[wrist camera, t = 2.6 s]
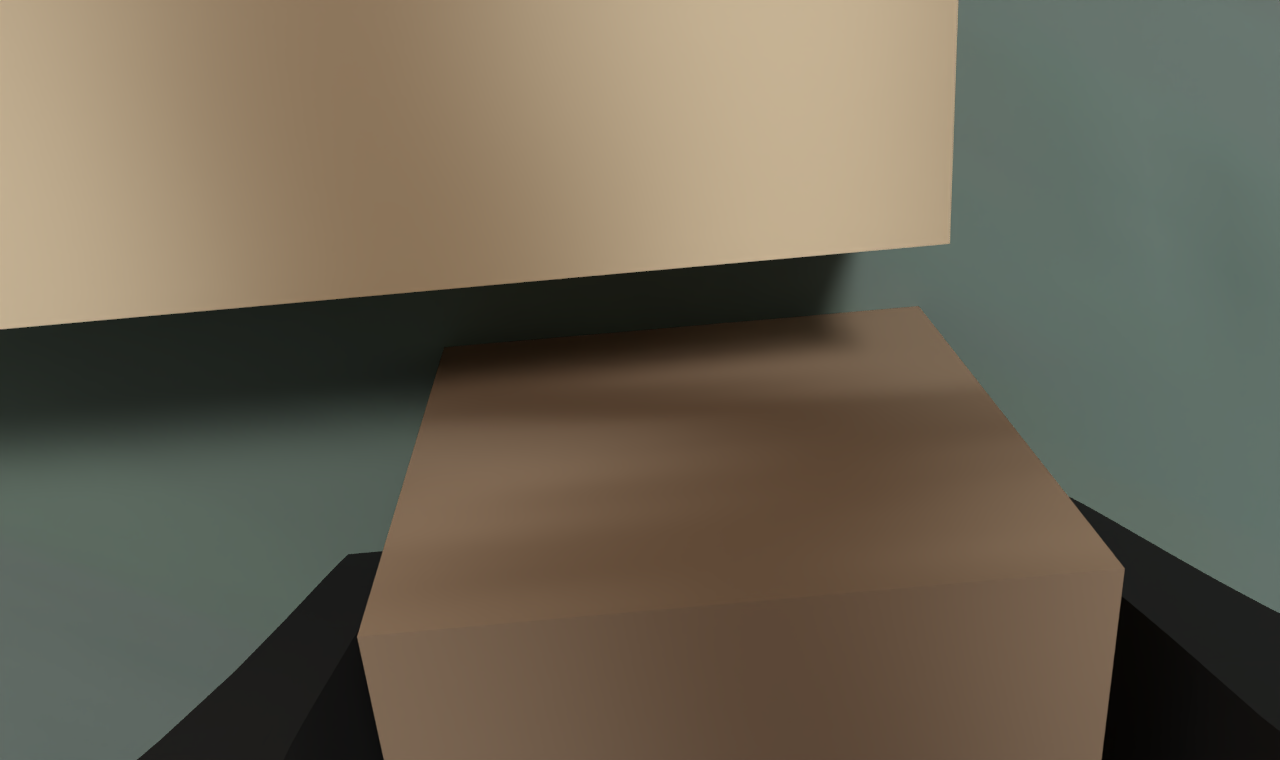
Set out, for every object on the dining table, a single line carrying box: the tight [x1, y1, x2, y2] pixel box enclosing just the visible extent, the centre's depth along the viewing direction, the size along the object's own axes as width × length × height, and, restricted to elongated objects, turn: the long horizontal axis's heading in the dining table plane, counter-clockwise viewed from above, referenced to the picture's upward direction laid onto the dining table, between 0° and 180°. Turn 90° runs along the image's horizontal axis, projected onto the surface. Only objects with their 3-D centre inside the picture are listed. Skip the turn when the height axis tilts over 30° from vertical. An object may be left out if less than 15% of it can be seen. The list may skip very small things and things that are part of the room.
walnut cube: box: [357, 306, 1125, 760], centre depth 11 cm, size 5×5×5 cm
